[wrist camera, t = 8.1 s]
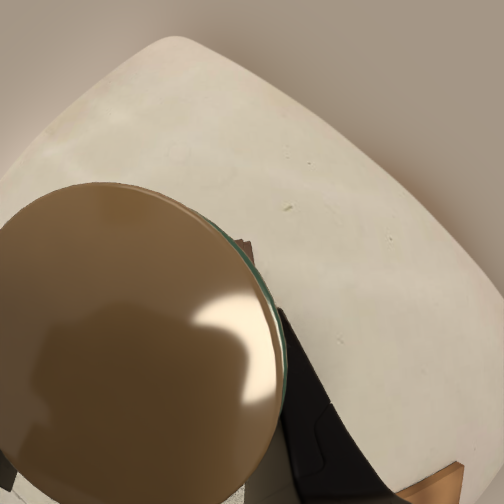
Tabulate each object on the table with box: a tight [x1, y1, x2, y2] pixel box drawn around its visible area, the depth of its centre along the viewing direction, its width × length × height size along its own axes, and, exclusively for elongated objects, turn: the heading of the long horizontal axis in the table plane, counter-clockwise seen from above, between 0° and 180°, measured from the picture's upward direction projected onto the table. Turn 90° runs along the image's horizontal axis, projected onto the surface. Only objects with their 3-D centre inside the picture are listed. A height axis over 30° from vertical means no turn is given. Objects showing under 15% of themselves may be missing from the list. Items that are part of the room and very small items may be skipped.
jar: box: [0, 182, 288, 504], centre depth 7 cm, size 5×5×9 cm
